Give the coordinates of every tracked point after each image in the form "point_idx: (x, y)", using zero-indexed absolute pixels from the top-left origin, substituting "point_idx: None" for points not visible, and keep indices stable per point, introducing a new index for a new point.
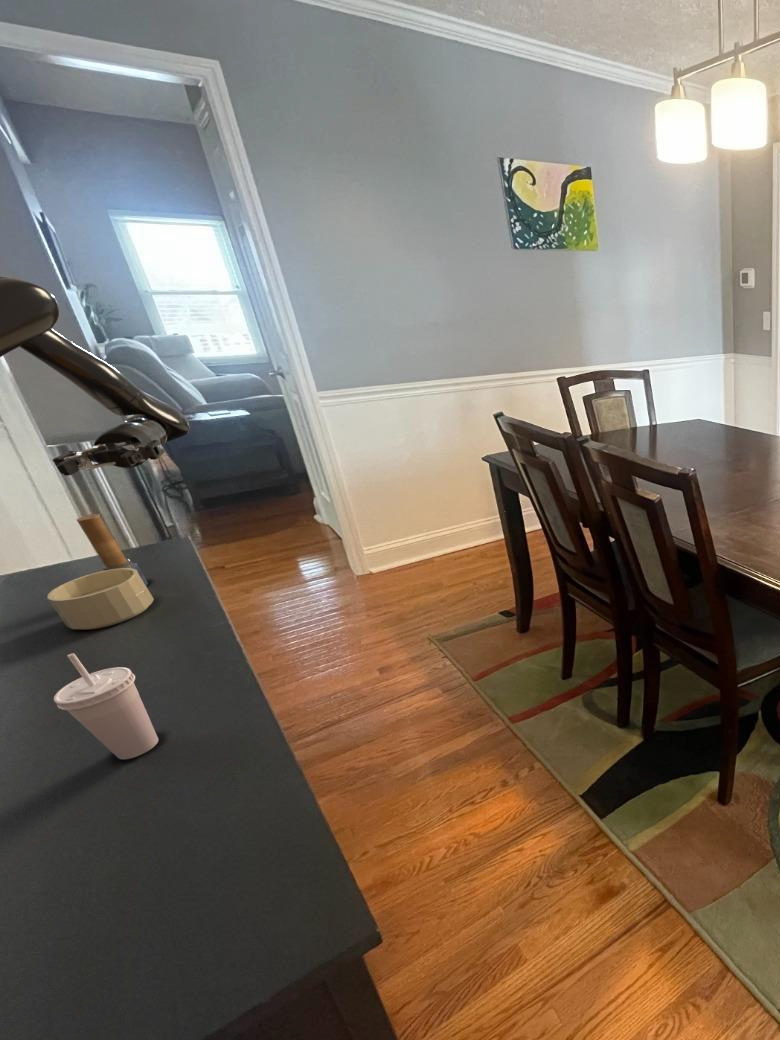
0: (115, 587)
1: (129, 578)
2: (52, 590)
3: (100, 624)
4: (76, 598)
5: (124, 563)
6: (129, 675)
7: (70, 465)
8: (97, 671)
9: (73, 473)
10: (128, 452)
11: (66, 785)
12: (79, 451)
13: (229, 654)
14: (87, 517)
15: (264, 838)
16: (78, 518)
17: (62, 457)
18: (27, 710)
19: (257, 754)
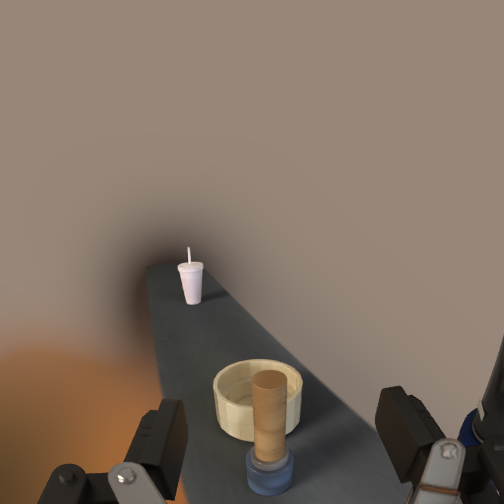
0: (227, 366)
1: (218, 377)
2: (301, 381)
3: None
4: (259, 359)
5: (254, 446)
6: (178, 265)
7: (395, 429)
8: (190, 268)
9: (383, 443)
10: (154, 433)
11: (215, 296)
12: (449, 497)
13: (154, 333)
14: (268, 377)
15: (157, 277)
16: (284, 378)
17: (492, 461)
18: (259, 329)
19: (154, 291)
